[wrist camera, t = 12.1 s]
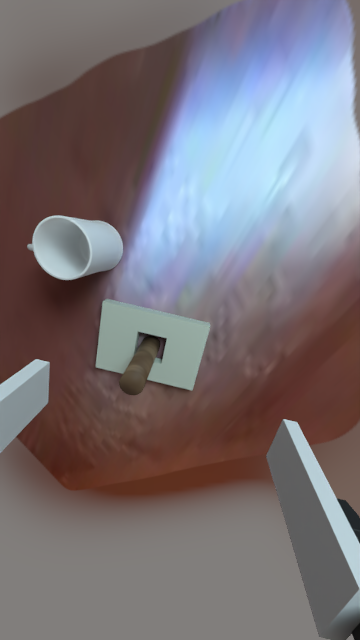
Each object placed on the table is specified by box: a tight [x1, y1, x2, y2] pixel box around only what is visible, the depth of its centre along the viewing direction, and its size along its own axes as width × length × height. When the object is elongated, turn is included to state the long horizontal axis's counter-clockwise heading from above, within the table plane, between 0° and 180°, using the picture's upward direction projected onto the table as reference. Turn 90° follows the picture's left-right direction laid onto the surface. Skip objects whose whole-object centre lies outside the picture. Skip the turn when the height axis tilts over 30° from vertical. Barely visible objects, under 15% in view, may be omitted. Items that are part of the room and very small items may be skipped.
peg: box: [119, 336, 160, 395], centre depth 41 cm, size 4×4×14 cm
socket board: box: [96, 299, 210, 390], centre depth 46 cm, size 20×14×2 cm
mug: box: [27, 216, 123, 280], centre depth 36 cm, size 12×8×12 cm
